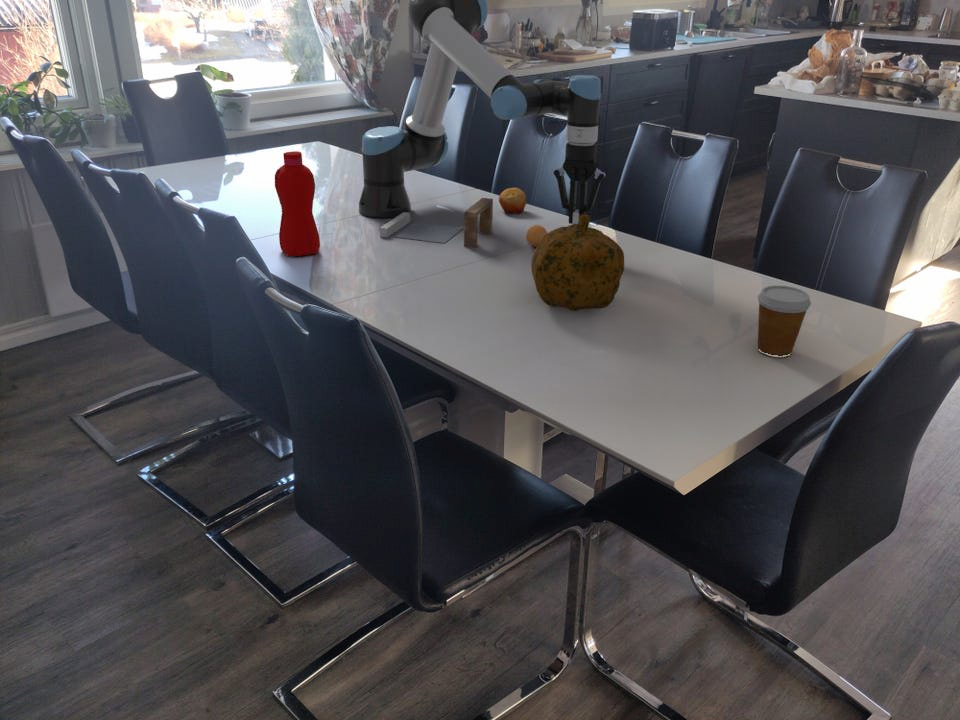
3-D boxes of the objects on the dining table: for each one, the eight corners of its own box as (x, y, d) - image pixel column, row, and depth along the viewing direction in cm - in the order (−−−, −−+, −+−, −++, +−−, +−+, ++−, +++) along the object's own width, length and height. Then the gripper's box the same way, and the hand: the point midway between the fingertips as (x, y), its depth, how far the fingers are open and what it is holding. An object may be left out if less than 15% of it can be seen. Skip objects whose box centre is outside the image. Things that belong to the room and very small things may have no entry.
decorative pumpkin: (505, 294, 183) (517, 205, 175) (575, 283, 195) (589, 199, 187) (565, 328, 169) (581, 233, 160) (636, 314, 181) (655, 225, 172)
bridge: (464, 246, 215) (464, 211, 211) (481, 230, 228) (482, 197, 224) (474, 247, 215) (475, 212, 211) (492, 231, 227) (492, 198, 223)
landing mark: (395, 237, 221) (395, 236, 221) (415, 223, 233) (415, 222, 233) (444, 243, 217) (444, 242, 217) (462, 228, 229) (462, 228, 229)
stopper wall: (380, 236, 221) (379, 227, 220) (403, 220, 235) (403, 212, 234) (386, 237, 221) (386, 228, 220) (410, 221, 234) (410, 212, 233)
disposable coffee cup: (741, 341, 165) (751, 284, 159) (787, 340, 165) (798, 284, 160) (759, 362, 156) (770, 303, 151) (808, 361, 157) (821, 302, 152)
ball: (523, 247, 215) (524, 227, 213) (529, 241, 220) (529, 221, 217) (544, 250, 214) (545, 229, 211) (549, 244, 218) (550, 223, 216)
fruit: (526, 202, 249) (527, 183, 243) (525, 222, 245) (525, 203, 238) (500, 201, 250) (499, 182, 243) (498, 220, 246) (497, 201, 239)
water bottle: (311, 242, 216) (304, 145, 205) (323, 255, 207) (316, 154, 196) (276, 246, 212) (267, 148, 201) (286, 259, 204) (277, 157, 193)
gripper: (551, 143, 201) (547, 237, 211) (605, 147, 197) (597, 243, 207) (559, 138, 207) (554, 229, 217) (610, 141, 203) (603, 234, 214)
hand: (575, 236), depth 212 cm, fingers closed
